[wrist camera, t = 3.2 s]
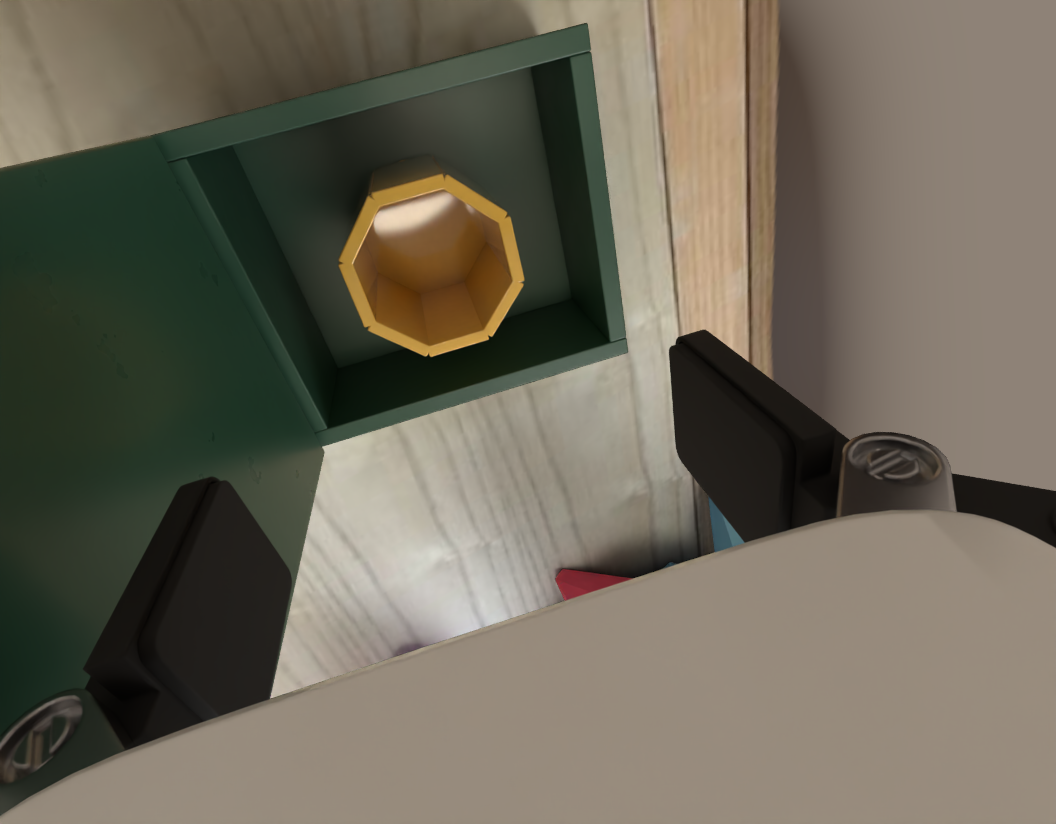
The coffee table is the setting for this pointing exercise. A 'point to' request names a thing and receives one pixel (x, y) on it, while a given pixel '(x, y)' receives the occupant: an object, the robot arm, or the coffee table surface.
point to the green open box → (334, 189)
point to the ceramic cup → (430, 257)
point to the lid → (120, 401)
